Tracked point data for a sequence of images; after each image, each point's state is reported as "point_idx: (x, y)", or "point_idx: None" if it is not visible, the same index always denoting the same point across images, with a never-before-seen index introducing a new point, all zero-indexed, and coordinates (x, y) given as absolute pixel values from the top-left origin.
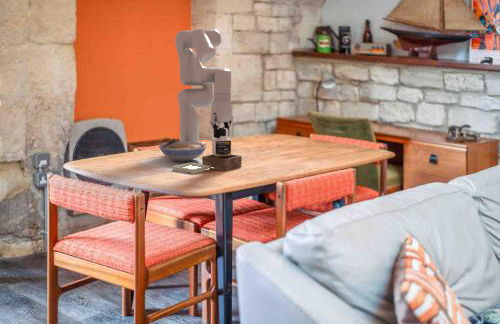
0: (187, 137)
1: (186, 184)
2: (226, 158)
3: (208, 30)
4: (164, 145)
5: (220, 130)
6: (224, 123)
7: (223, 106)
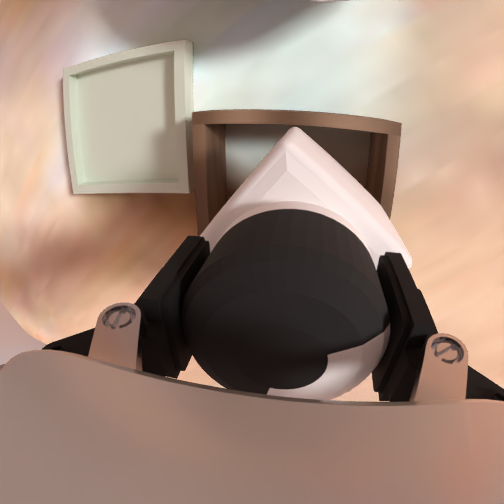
0: None
1: (16, 267)
2: (374, 187)
3: None
4: None
5: (199, 363)
6: (415, 396)
7: None
